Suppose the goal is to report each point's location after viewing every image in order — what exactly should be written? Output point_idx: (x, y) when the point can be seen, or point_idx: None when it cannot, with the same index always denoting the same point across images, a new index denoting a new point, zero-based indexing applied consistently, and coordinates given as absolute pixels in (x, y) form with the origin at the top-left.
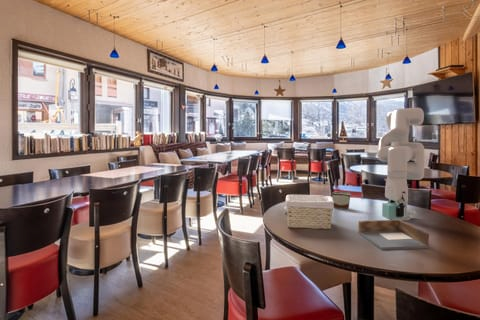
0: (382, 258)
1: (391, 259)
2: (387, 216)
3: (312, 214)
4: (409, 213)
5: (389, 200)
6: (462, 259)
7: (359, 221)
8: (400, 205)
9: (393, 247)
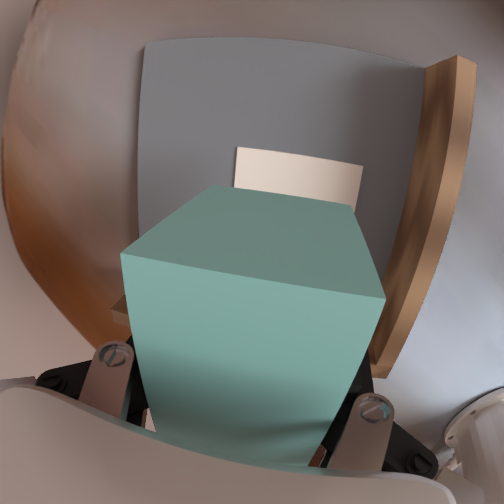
0: (83, 19)
1: (69, 49)
2: (228, 193)
3: None
4: (455, 456)
5: (354, 451)
6: (67, 296)
7: (464, 59)
8: (85, 377)
9: (140, 108)
